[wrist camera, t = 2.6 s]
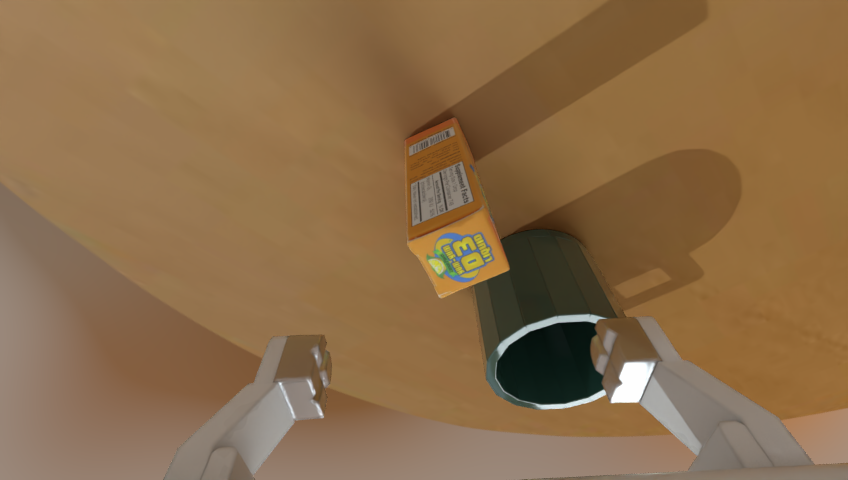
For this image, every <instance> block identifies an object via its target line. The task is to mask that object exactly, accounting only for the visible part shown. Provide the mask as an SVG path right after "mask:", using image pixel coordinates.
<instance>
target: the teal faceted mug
mask: <svg viewBox="0 0 848 480" xmlns="http://www.w3.org/2000/svg"><path fill="white" fill-rule="evenodd" d="M500 242H501V244H502V247H503V250H504V252H505V255H506V258H507V261H508V264H509V268H510V269H509V270H508V271H506V272H504V273H501V274H499V275H497V276H494V277H492V278H489V279H487V280H484V281H482V282H479V283H477V284H474V285H472V291H473V303H474V309H475V315H476V321H477V327H478V334H479V340H480V346H481V352H482V358H483V365H484V371H485V377H486V380H487V382H488V383H489V385H490V386H491V388H492V389H493V391H494V392H495V394H496V395H498V396H499V397H501V398H503V399H505V400H506V401H508V402H510V403H512V404H514V405H517V406H522V407H527V408H532V409H539V410H542V409H564V408H569V407H573V406H576V405H580V404H584V403H588V402H591V401H594V400H596V399H598V398H600V397H602V396H604V395H606V392H605V390H604V388H603V386H602V383H601V382H602V379H603V375H602V374H600V373H599V372H598V371H597V370H595V367H594V365H593V362H592V359H591V354H590V344H591V340H592V338H593V337H594V336H595V335H597V332H596V330H595V325H596V322H597V321H598V320H599V319H610V318H625V317H626V316H625V314H624V312H623V310H622V309H621V307H620V305H619V303H618V301H617V300H616V298H615V296H614V294H613V293H612V291H611V289H610V287H609V285H608V284H607V282H606V280H605V278H604V277H603V275H602V273H601V271H600V269H599V268H598V266H597V264H596V262H595V261H594V259H593V257H592V256H591V255H590V254H589V252H588V251H587V249H586V247H585V246H584V245H583V244H582V243H581V242H580V241H578V240H577V239H576V238H574V237H572V236H570V235H568V234H566V233H563V232H559V231H555V230H547V229H537V230H528V231H523V232H519V233H516V234H513V235H511V236H508V237H506V238H504V239H502V240H500Z"/></svg>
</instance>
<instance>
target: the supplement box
mask: <svg viewBox="0 0 848 480" xmlns="http://www.w3.org/2000/svg"><path fill="white" fill-rule="evenodd" d="M404 146H405V192H406V225H407V240H408V242H407V245H408V247H409V248H410V249H411V251H412V252H413V253H414V254H415V255H417V257H418V259H419V260H420V262H421V264H422V265H423V267H424V269H425V271H426V272H427V274H428V276H429V278H430V280H431V281H432V283H433V285H434V288H435V290H436V292H437V294H438V296H439V297H440V298H444V297H446V296H448V295H451V294H452V293H454V292H457V291H459V290H461V289H464V288H466V287H469V286H472V285H474V284H477V283H479V282H482V281H484V280H487V279H489V278H492V277H494V276H497V275H499V274H501V273H504V272H506V271H508V270H509V269H510V268H509V264H508V261H507V258H506V255H505V252H504V250H503V247H502V244H501V242H500V239H499V236H498V233H497V230H496V227H495V223H494V220H493V217H492V214H491V211H490V208H489V205H488V202H487V199H486V196H485V193H484V190H483V187H482V184H481V181H480V178H479V175H478V172H477V169H476V166H475V161H474V158H473V156H472V153H471V151H470V148H469V146H468V143H467V141H466V139H465V137H464V134H463V132H462V130H461V128H460V125H459V123H458V121H457V119H456V118H451V119H449V120H447V121H445V122H443V123H441V124H439V125H436V126H434V127H432V128H429V129H427V130H425V131H423V132H421V133H418V134H416V135H414V136H412V137H409V138H407V139H406V140H405V142H404Z"/></svg>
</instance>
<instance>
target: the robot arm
mask: <svg viewBox="0 0 848 480" xmlns="http://www.w3.org/2000/svg"><path fill="white" fill-rule="evenodd" d="M595 330H596V332H597V335H595V336H594V337H593V338H592V340H591V344H590V354H591V359H592V362H593V365H594V367H595V370H597V371H598V372H599V373H600V374H602V375H603V379H602V382H601V383H602V386H603V388H604V390H605V392H606V394H607V397H608V399H609V401H610V403H627V402H640V404H641V405H642V406H643V407H644V408H645V409H646V410H647V411H648V412H650V413H651V414H652V415H653V416H654V417H655V418H656V419H657V420H658V421H659V422H661V423H662V424H663V425H664V426H665V427H666V428H667V429H668V430H669V431H670V432H672V433H673V434H674V435H675V436H676V437H677V438H678V439H679V440H680V441H681V442H682V443H684V444H685V445H686V446H687V447H688V448H689V449H690V450H691V451H692V452H693V453H695V454H696V455H697V457H696V459H695V460H694V462H693V463H692V465H691V466H690V468H689V470H688V471H682V472H663V473H643V474H626V475H604V476H585V477H565V478H544V479H524V480H848V463H840V464H839V463H838V464H819V465H815V464H814V463H813V461H812V460H811V459H810V458H809V456H808V455H807V454H806V452H805V451H804V450H803V449H802V447H801V446H800V445H799V444H798V442H797V441H796V440H795V438H794V437H793V436H792V435H791V433H790V432H789V431H788V430H787V428H786V427H785V426H784V424H783V423H782V422H781V420H780V419H779V418H778V417H777V416H775V415H774V414H772V413H770V412H769V411H767V410H766V409H764V408H763V407H761V406H759V405H758V404H756V403H755V402H753V401H751V400H750V399H748V398H747V397H745V396H744V395H742V394H740V393H739V392H737V391H736V390H734V389H732V388H731V387H729V386H728V385H726V384H725V383H723V382H721V381H720V380H718V379H717V378H715V377H713V376H712V375H710V374H709V373H707V372H706V371H704V370H702V369H701V368H699V367H698V366H696V365H694V364H693V363H691V362H690V361H688V360H682V359H681V357H680V356H679V354H678V353H677V351H676V350H675V348H674V347H673V345H672V344H671V342H670V341H669V339H668V338H667V336H666V335H665V333H664V332H663V330H662V329H661V327H660V326H659V325H658V323H657V322H656V320H655V319H654V318H653V317H651V316H645V317H633V318H632V317H625V318H610V319H599V320H598V321H597V322H596V325H595ZM326 344H327V342H326V339H325V336H324V335H296V336H273V337H272V338H271V339H270V341H269V343H268V345H267V348H266V351H265V354H264V356H263V359H262V362H261V365H260V367H259V370H258V373H257V376H256V378H255V381H254V383H253V384H248V385H247V386H246V387H245V388H243V389H242V390H241V391H240V392H239V393H238V394H237V395H236V396H235V397H234V398H232V399H231V401H229V402H228V403H227V404H226V405H225V406H224V407H223V408H221V409H220V410H219V411H218V412H217V413H216V414H215V415H214V416H213V417H212V418H210V420H208V421H207V422H206V423H205V424H204V425H203V426H202V427H201V428H199V430H197V431H196V432H195V433H194V434H193V435H192V436H191V437H190V438H188V439H187V440H186V441H185V442H184V443H183V444H182V445H181V446H180V447H179V448H178V449H177V452H176V454H175V456H174V458H173V460H172V462H171V464H170V466H169V468H168V471H167V473H166V475H165V477H164V479H163V480H255V478H254V477H253V475H254V474H255V472H256V471H257V470H258V469H259V467H260V466H261V465H262V463H263V462H264V461H265V460H266V458H267V457H268V456H269V454H270V453H271V452H272V450H273V449H274V448H275V446H276V445H277V444H278V443H279V442H280V440H281V439H282V438H283V436H284V435H285V434H286V432H287V431H288V430H289V428H290V427H291V426H292V425H293V423H294V420H304V419H316V418H323V417H324V412H325V407H326V402H327V394H326V391H325V388H327V386H328V385H329V384H330V381H331V373H332V363H331V356H330V353H329V352H328V351H327V350H325V348H326Z"/></svg>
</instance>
